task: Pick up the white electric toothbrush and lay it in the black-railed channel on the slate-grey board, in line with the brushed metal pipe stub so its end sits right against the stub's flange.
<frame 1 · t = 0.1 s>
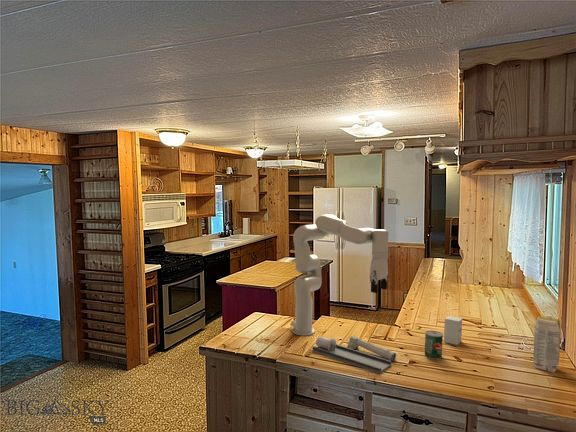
hand: (378, 290, 185), 31 cm above the counter, tool pointing down, fingers open, 9 cm apart
supplement box: (452, 342, 205), on the counter
pipe jig board: (350, 358, 181), on the counter
juice carton: (545, 368, 174), on the counter
canned tomato: (433, 356, 186), on the counter
white electric toothbrush: (370, 354, 188), on the counter
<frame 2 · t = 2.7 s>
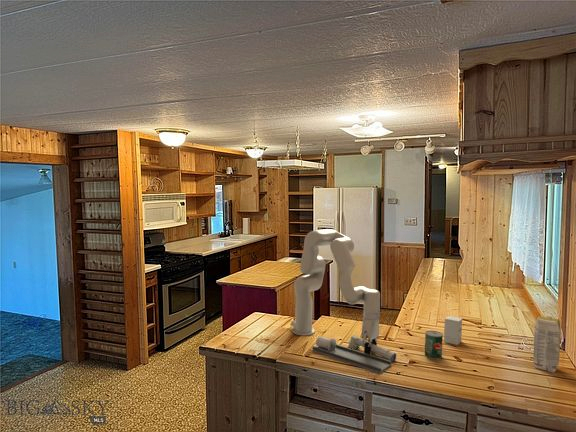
hand: (370, 351, 188), 1 cm above the counter, tool pointing down, fingers open, 5 cm apart
white electric toothbrush: (370, 354, 188), on the counter, touching gripper
everything else where it was.
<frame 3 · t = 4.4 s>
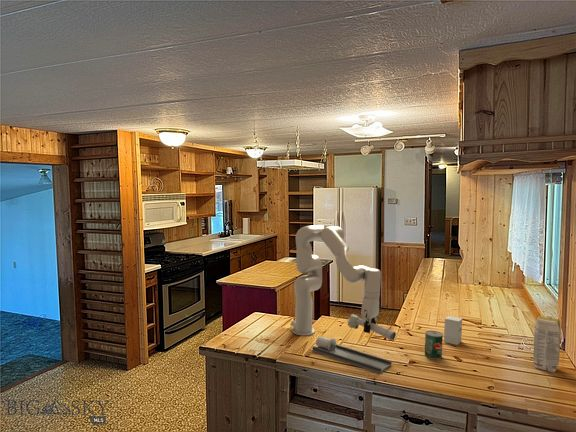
hand: (369, 330, 188), 11 cm above the counter, tool pointing down, fingers closed on white electric toothbrush, 4 cm apart
white electric toothbrush: (369, 332, 188), point 10 cm above the counter, touching gripper
everything else where it was.
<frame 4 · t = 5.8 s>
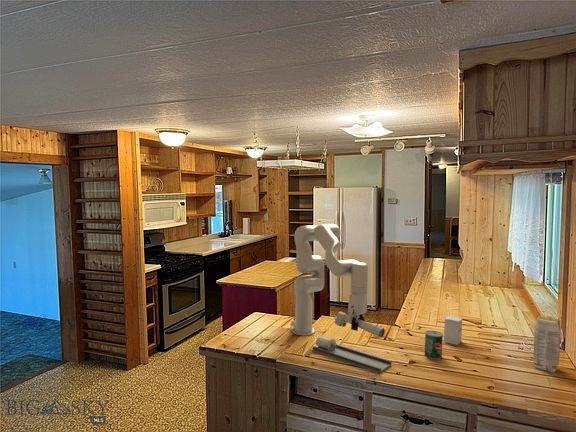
hand: (357, 328, 178), 15 cm above the counter, tool pointing down, fingers closed on white electric toothbrush, 4 cm apart
white electric toothbrush: (358, 330, 178), point 14 cm above the counter, touching gripper
everything else where it was.
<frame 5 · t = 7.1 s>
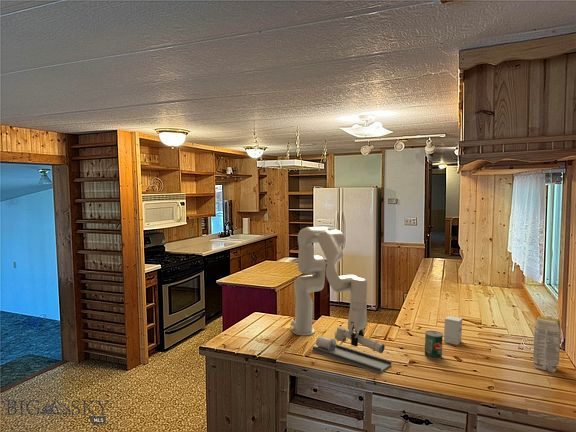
hand: (357, 343, 178), 8 cm above the counter, tool pointing down, fingers closed on white electric toothbrush, 4 cm apart
white electric toothbrush: (357, 346, 178), point 7 cm above the counter, touching gripper
everything else where it was.
when the fingers open (3 cm above the counter, at t = 8.4 s): white electric toothbrush drops 1 cm, resting on pipe jig board.
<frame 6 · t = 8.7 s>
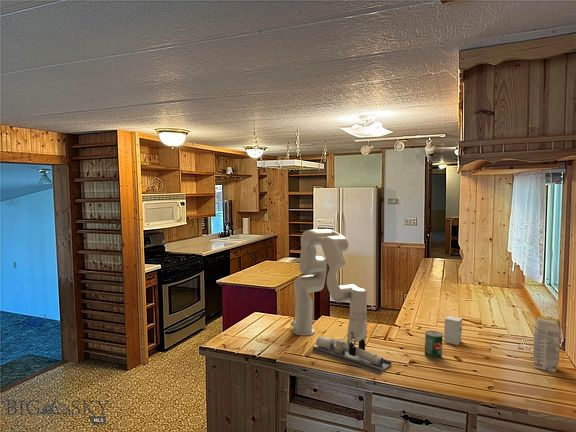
hand: (357, 352, 179), 4 cm above the counter, tool pointing down, fingers open, 8 cm apart
white electric toothbrush: (357, 358, 179), point 1 cm above the counter, touching pipe jig board
everything else where it was.
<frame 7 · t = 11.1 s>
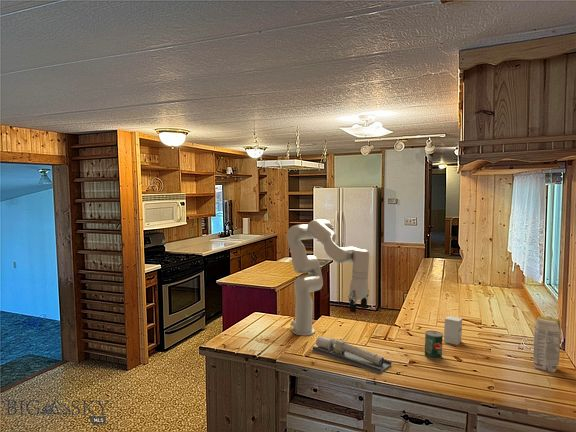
hand: (358, 309, 187), 21 cm above the counter, tool pointing down, fingers open, 9 cm apart
nothing on the counter moved.
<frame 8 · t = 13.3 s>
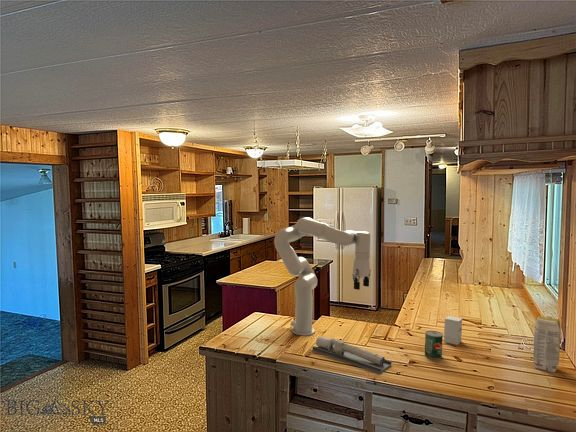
hand: (361, 287, 203), 28 cm above the counter, tool pointing down, fingers open, 9 cm apart
nothing on the counter moved.
at the end: white electric toothbrush 0.1 cm from the target spot, point 0.8 cm above the counter; the gripper is holding nothing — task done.
